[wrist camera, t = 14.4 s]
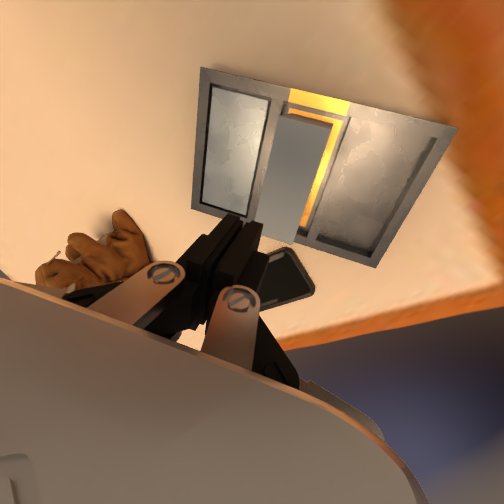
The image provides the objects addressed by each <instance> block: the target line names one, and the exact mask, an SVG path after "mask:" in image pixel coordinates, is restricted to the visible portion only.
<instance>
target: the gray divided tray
mask: <svg viewBox="0 0 504 504" xmlns="http://www.w3.org/2000/svg"><path fill="white" fill-rule="evenodd" d="M289 113H293V114H297V115H301V116H305V117H309V118H313V119H317V120H321V121H325V122H329V123H333V127H332V131H331V134H330V136H329V139H328V142H327V145H326V148H325V151H324V154H323V157H322V160H321V163H320V166H319V168H318V171H317V174H316V177H315V180H314V183H313V186H312V189H311V192H310V195H309V198H308V201H307V203H306V206H305V209H304V212H303V215H302V218H301V221H300V224H299V227H298V230H297V233H296V236H295V238H294V241H293V242H296V243H299V244H302V245H305V246H308V247H311V248H314V249H317V250H320V251H324V252H327V253H330V254H333V255H336V256H339V257H342V258H345V259H348V260H351V261H354V262H358V263H361V264H364V265H367V266H370V267H373V268H376V267H377V265H378V264H379V262H380V260H381V258H382V257H383V255H384V253H385V252H386V250H387V248H388V247H389V245H390V243H391V242H392V240H393V238H394V237H395V235H396V233H397V232H398V230H399V228H400V226H401V225H402V223H403V221H404V220H405V218H406V216H407V215H408V213H409V211H410V210H411V208H412V206H413V205H414V203H415V201H416V200H417V198H418V196H419V194H420V193H421V191H422V189H423V188H424V186H425V184H426V183H427V181H428V179H429V178H430V176H431V174H432V173H433V171H434V169H435V168H436V166H437V164H438V162H439V161H440V159H441V157H442V156H443V154H444V152H445V151H446V149H447V147H448V146H449V144H450V142H451V141H452V139H453V137H454V136H455V134H456V132H457V130H458V129H459V128H457V127H453V126H449V125H445V124H440V123H436V122H432V121H428V120H424V119H419V118H415V117H411V116H407V115H402V114H398V113H394V112H390V111H386V110H381V109H377V108H373V107H369V106H364V105H360V104H356V103H352V102H348V101H343V100H339V99H335V98H331V97H327V96H322V95H318V94H314V93H310V92H305V91H301V90H297V89H293V88H288V87H284V86H280V85H276V84H272V83H267V82H263V81H259V80H255V79H250V78H246V77H242V76H238V75H234V74H229V73H225V72H221V71H217V70H212V69H208V68H204V67H201V69H200V84H199V98H198V113H197V128H196V143H195V157H194V172H193V187H192V201H191V209H194V210H197V211H200V212H203V213H206V214H209V215H212V216H215V217H218V218H221V219H223V218H224V217H225V216H226V215H227V214H228V213H230V214H233V215H236V216H240V220H242V221H243V226H244V225H245V223H246V222H249V223H250V222H251V221H252V220H253V221H255V217H256V212H257V208H258V204H259V199H260V195H261V191H262V186H263V182H264V178H265V173H266V169H267V164H268V160H269V156H270V151H271V147H272V143H273V138H274V134H275V130H276V125H277V121H278V117H279V116H280V115H285V114H289Z"/></svg>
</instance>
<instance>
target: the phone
mask: <svg viewBox="0 0 504 504" xmlns="http://www.w3.org/2000/svg"><path fill="white" fill-rule="evenodd" d="M267 255H270V259H269V263H268V266H267V270H266V273H265V276H264V279H263V282H262V285H261V288H260V290H259V293H258V297H259V299H260V310H259V312H261V311H264V310H267V309H271V308H274V307H277V306H281V305H284V304H287V303H291V302H294V301H297V300H301V299H304V298H307V297H310V296H312V295H313V294H314V292H315V285H314V283H313V282H312V280H311V278H310V277H309V275H308V273H307V272H306V270H305V269H304V267H303V265H302V264H301V262H300V260H299V259H298V257H297V255H296V254H295V252H294V251H293V250H292V249H291V248H288V247H283V248H280V249H278V250H275V251H273V252H271V253H268V254H267Z"/></svg>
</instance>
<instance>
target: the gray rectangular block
mask: <svg viewBox="0 0 504 504" xmlns="http://www.w3.org/2000/svg"><path fill="white" fill-rule="evenodd" d="M332 127H333V123H329V122H325V121H321V120H317V119H313V118H309V117H305V116H301V115H297V114H293V113H289V114H285V115H280V116H279V117H278V121H277V125H276V130H275V134H274V138H273V143H272V147H271V151H270V156H269V160H268V164H267V169H266V173H265V178H264V182H263V186H262V191H261V195H260V199H259V204H258V208H257V212H256V217H255V221H256V222H259V223H263V229H262V233H261V235H263V236H266V237H269V238H272V239H275V240H278V241H281V242H284V243H287V244H290V245H292V244H293V241H294V238H295V236H296V233H297V230H298V227H299V224H300V221H301V218H302V215H303V212H304V209H305V206H306V203H307V201H308V198H309V195H310V192H311V189H312V186H313V183H314V180H315V177H316V174H317V171H318V168H319V166H320V163H321V160H322V157H323V154H324V151H325V148H326V145H327V142H328V139H329V136H330V134H331V131H332Z"/></svg>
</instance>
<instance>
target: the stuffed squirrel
mask: <svg viewBox="0 0 504 504" xmlns="http://www.w3.org/2000/svg"><path fill="white" fill-rule="evenodd" d="M112 224H113V227H114V232H112V233H108V234H106V235H104V236H103V237H102V238H100V239H99V240H98V241H95V240H94V239H92V238H91V237H89V236H88V235H86V234H84V233H72V234H70V235H69V236H68V244H69V245H68V246H67V247H66V253H65V254H66V256H67V258H68V259H69V260H70V261H71V262H70V261H67V260H63V259H55V257H57V256H58V255H59V254H60V253H61V252H60V251H58V252H57V254H56V255H55V256H54V257H53V258H52V259H51V260H50V261H49V262H47V263H44V264H42V265H41V266H40V267H39V268H37V270H36V271H35V279H36V285H40V286H47V287H53V288H60V289H66V290H69V293H71V292H73V291H76V290H80V289H84V288H89V287H95V286H100V285H106V284H111V283H116V282H122V281H126V280H128V279H129V278H130V277H132V276H133V275H135V274H136V273H138V272H139V271H140V270H142V269H143V268H145V267H146V266H148V265H150V264H152V262H150V261H149V258H148V256H147V251H146V247H145V242H144V239H143V235H142V233H141V231H140V230H139V228H138V227H137V226H136V225H135V223H134V222H133V221H132V220H131V219H130V217H129V216H128V215H127V214H126V213H125V212H124V211H122V210H119V211H115V212H114V213H113V215H112Z"/></svg>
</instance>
